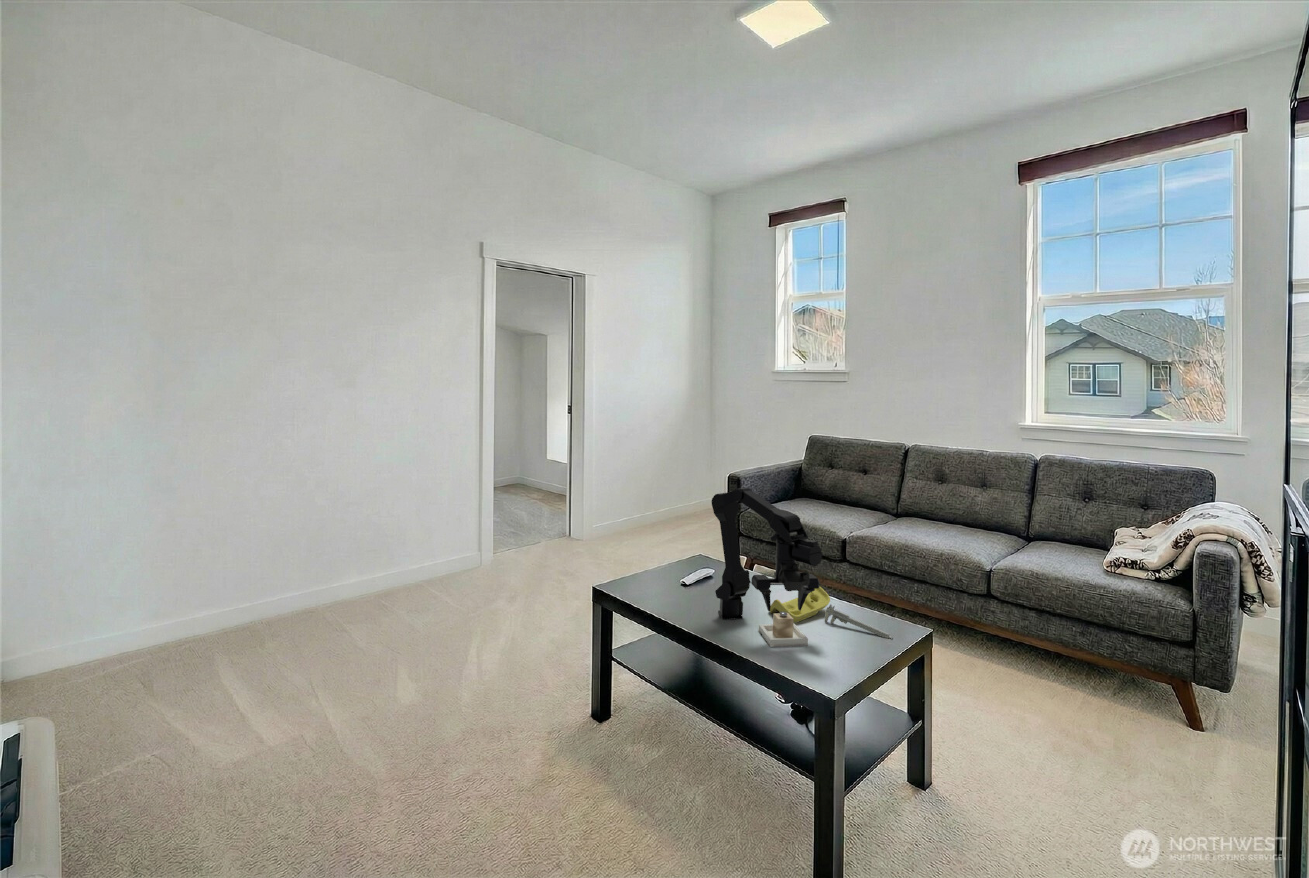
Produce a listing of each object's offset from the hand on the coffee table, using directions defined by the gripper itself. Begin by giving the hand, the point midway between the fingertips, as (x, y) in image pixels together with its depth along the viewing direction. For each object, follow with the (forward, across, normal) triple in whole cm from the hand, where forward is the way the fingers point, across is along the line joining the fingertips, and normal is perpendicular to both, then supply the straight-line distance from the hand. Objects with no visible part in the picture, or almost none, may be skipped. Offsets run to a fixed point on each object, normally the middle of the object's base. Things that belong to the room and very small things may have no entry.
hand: (784, 610), depth 173 cm
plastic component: (+9, +13, +19) cm, 24 cm away
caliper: (+9, +25, +4) cm, 27 cm away
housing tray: (+8, 0, 0) cm, 8 cm away
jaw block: (+8, 0, 0) cm, 8 cm away
